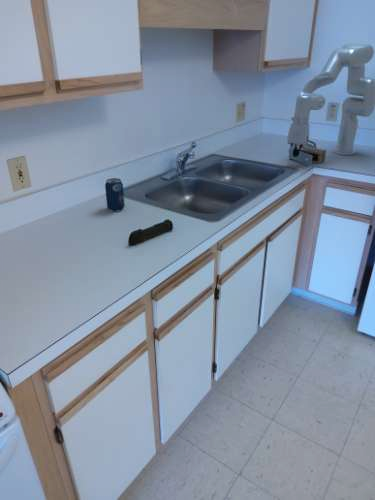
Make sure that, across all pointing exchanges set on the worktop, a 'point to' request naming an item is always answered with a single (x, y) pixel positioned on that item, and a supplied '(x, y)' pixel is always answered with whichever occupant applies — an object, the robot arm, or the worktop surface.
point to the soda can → (114, 194)
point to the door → (301, 157)
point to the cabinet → (314, 154)
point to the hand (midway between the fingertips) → (295, 156)
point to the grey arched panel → (308, 144)
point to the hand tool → (149, 232)
